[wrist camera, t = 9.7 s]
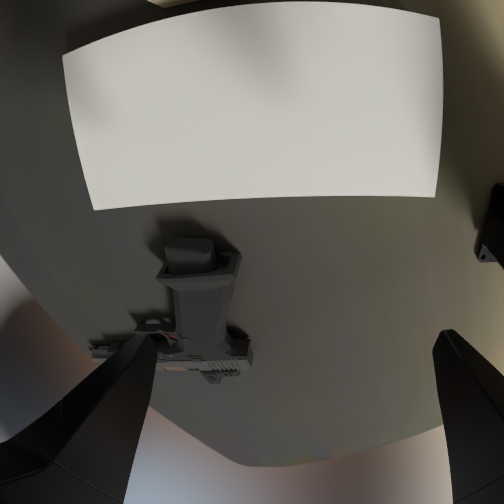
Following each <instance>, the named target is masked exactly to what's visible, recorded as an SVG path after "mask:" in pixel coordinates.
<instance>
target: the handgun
mask: <svg viewBox="0 0 504 504" xmlns="http://www.w3.org/2000/svg"><path fill="white" fill-rule="evenodd" d="M164 250H165V255H166V259H167V262H166V263H164V265H163V267H162V268H161V270H160V271H159V273H158V275H157V276H156V279H157V281H158V282H160V283H162V284H164V285H167V286H169V287H171V288H173V299H174V310H175V320H176V324H170V323H166V322H161V323H160V324H145V323H142V324H138V326H137V327H136V329H135V331H134V332H135V333H136V334H148V335H149V333H161V334H162V335H164V336H165V337H166V338H167V340H159V341H157V340H155V339H153V338H152V337H151V336H150V335H149V336H150V337H151V339H152V341H153V343H154V345H155V348H156V350H157V353H158V358H157V364H156V369H155V371H167V370H187V371H188V372H200V373H201V374H202V376H203V377H204V378H205V379H206V380H207V381H208V382H209V383H210V384H220V382H221V377H224V376H239V374H240V371H241V370H242V371H249V370H250V369H251V368H252V362H253V356H254V355H253V353H252V350H251V348H250V342H251V339H240V338H233V337H231V336H230V335H229V334H228V333H227V331H226V315H227V311H228V308H229V305H230V301H231V298H232V294H233V291H234V290H233V281H234V280H235V279H236V276H237V273H238V270H239V266H240V263H241V259H242V256H241V253H240V252H217V255H218V258H219V262H218V263H217V262H216V255H215V246H214V242H213V241H212V240H210V239H204V238H186V237H177V238H171V239H170V240H169V242H168V243H167V245H166V246H165V248H164ZM125 343H126V342H111V344H110V346H93V348H92V358H91V359H92V360H93V361H94V362H98V363H99V364H100V365H101V364H102V363H103V362H104V361H106V360H107V359H108V358H109V357H110V356H111V355H113V354H114V353H115V352H116V351H117V350H118V349H119V348H121V347H122V346H123V345H124V344H125Z"/></svg>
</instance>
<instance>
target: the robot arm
mask: <svg viewBox="0 0 504 504" xmlns="http://www.w3.org/2000/svg"><path fill="white" fill-rule="evenodd" d="M499 189H500V191H499V192H498V190H499ZM482 255H483V256H482ZM481 256H482V257H481ZM476 257H477V259H478V260H479V262H498V263H499V265H500V266H501V267H502V268H503V270H504V184H502V183H497V184H495V186H494V188H493V192H492V197H491V201H490V206H489V210H488V215H487V219H486V223H485V227H484V231H483V234H482V238H481V242H480V245H479V248H478V252H477V256H476ZM432 354H433V361H434V368H435V376H436V384H437V392H438V398H439V403H440V408H441V413H442V418H443V424H444V429H445V436H446V441H447V448H448V456H449V464H450V472H451V482H452V494H453V504H504V376H503V375H502V374H501V373H500V372H499V371H498V370H497V369H496V368H495V367H494V366H493V365H492V364H491V363H490V362H489V361H488V360H486V359H485V358H484V357H483V356H482V355H481V354H480V353H479V352H478V351H477V350H476V349H475V348H474V347H472V346H471V345H470V344H469V343H468V342H467V341H466V340H465V339H464V338H463V337H461V336H460V335H459V334H458V333H457V332H456V331H455V330H453V329H448V330H442V331H441V332H440V334H439V336H438V338H437V340H436V342H435V345H434V347H433V352H432ZM157 358H158V353H157V350H156V348H155V345H154V343H153V341H152V339H151V337H150V336H149V335H148V334H136V335H135V336H133V337H132V338H131V339H130V340H129V341H128V342H126V343H125V344H124V345H123V346H122V347H121V348H119V349H118V350H117V351H116V352H115V353H114V354H113V355H111V356H110V357H109V358H108V359H107V360H106V361H104V362H103V363H102V364H101V365H100V366H99V367H97V368H96V369H95V370H94V371H93V372H92V373H91V374H89V375H88V376H87V377H86V378H85V379H84V380H83V381H81V382H80V383H79V384H78V385H77V386H76V387H74V388H73V389H72V390H71V391H70V392H69V393H68V394H66V396H64V397H63V398H62V400H60V401H58V402H57V403H56V404H55V405H54V406H53V407H51V408H50V409H49V410H48V411H47V412H46V413H44V414H43V415H42V416H41V417H39V418H38V419H37V420H35V421H34V422H33V423H31V424H30V425H28V426H27V427H26V428H24V429H23V430H21V431H20V432H19V433H17V434H16V435H14V436H13V437H12V438H10V439H9V440H7V441H5V442H2V443H0V504H123V502H124V498H125V494H126V489H127V485H128V480H129V477H130V473H131V469H132V465H133V460H134V457H135V453H136V449H137V445H138V441H139V438H140V434H141V430H142V426H143V423H144V419H145V416H146V412H147V408H148V405H149V401H150V397H151V392H152V386H153V380H154V375H155V369H156V364H157Z"/></svg>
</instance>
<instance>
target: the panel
mask: <svg viewBox="0 0 504 504" xmlns="http://www.w3.org/2000/svg"><path fill="white" fill-rule="evenodd" d="M62 57H63V66H64V75H65V82H66V89H67V96H68V102H69V108H70V113H71V119H72V124H73V129H74V134H75V138H76V143H77V148H78V152H79V156H80V160H81V164H82V168H83V172H84V176H85V180H86V184H87V187H88V191H89V194H90V198H91V201H92V205H93V208H94V210H102V209H111V208H120V207H130V206H141V205H152V204H163V203H176V202H189V201H204V200H220V199H239V198H261V197H291V196H414V197H435V191H436V184H437V177H438V168H439V159H440V148H441V136H442V118H443V62H442V44H441V32H440V23H439V18H436V17H431V16H427V15H423V14H418V13H414V12H409V11H403V10H398V9H392V8H385V7H378V6H371V5H362V4H351V3H337V2H273V3H258V4H247V5H238V6H230V7H223V8H216V9H210V10H204V11H199V12H194V13H189V14H184V15H180V16H175V17H171V18H167V19H163V20H159V21H155V22H152V23H148V24H145V25H141V26H138V27H135V28H132V29H129V30H125V31H122V32H120V33H117V34H114V35H111V36H108V37H106V38H103V39H100V40H98V41H95V42H93V43H90V44H88V45H85V46H83V47H81V48H78V49H76V50H74V51H72V52H69V53H67V54H65V55H63V56H62Z"/></svg>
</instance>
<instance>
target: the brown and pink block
mask: <svg viewBox="0 0 504 504" xmlns="http://www.w3.org/2000/svg"><path fill="white" fill-rule="evenodd" d="M147 1H150V2H152V3H154V4H156V5H159V6H161V7H163V8H167V7H171V6H176V5H180V4H184V3H189V2H194V1H199V0H147Z"/></svg>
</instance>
